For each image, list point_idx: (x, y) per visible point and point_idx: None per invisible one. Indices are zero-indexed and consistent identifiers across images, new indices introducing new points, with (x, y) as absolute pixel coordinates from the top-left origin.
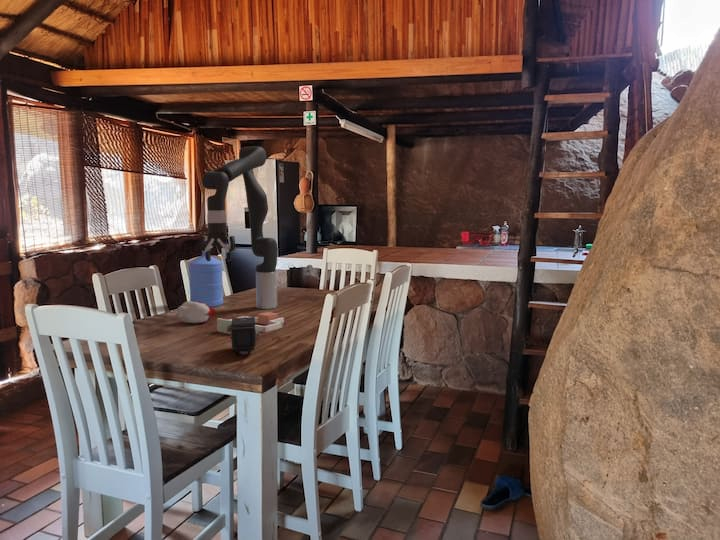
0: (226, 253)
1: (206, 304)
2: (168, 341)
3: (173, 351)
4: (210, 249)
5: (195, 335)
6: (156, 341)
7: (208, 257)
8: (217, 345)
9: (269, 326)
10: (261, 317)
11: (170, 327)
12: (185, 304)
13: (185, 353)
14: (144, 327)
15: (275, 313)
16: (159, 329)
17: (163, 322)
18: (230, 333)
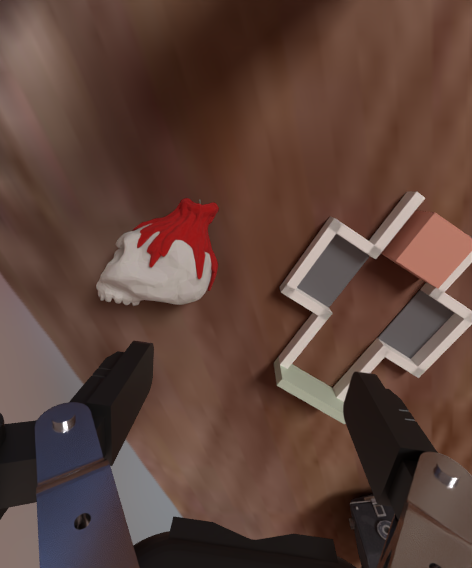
0: (375, 493)
1: (198, 278)
2: (187, 450)
3: (230, 511)
4: (97, 439)
5: (229, 402)
6: (160, 450)
7: (138, 408)
8: (307, 476)
9: (432, 362)
10: (406, 268)
11: (124, 324)
12: (116, 285)
13: (258, 521)
14: (52, 327)
15: (467, 243)
16: (106, 347)
17: (68, 261)
18: (351, 528)
